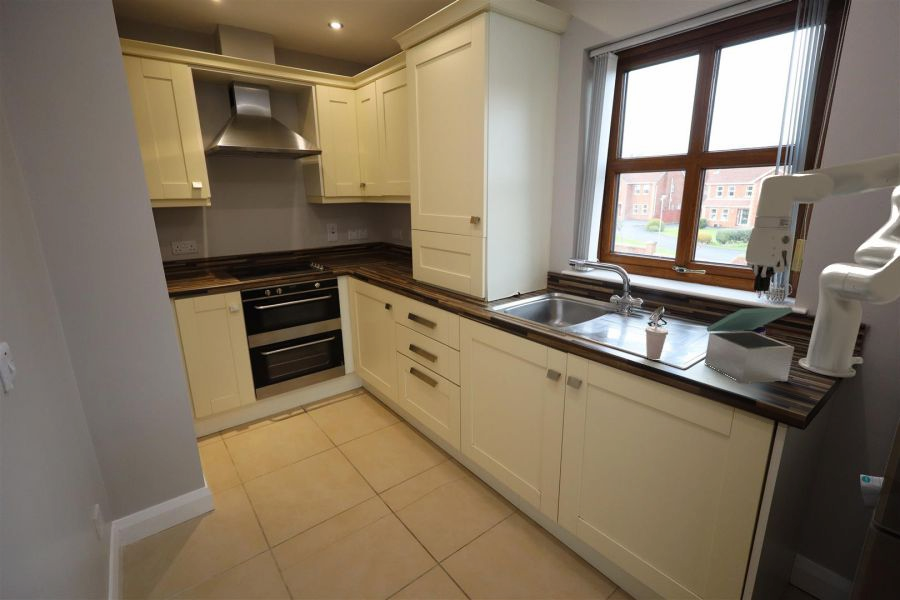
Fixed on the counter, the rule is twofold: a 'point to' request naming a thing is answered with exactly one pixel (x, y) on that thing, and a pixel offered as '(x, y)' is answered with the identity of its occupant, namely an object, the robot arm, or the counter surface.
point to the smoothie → (655, 340)
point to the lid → (749, 319)
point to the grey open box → (749, 356)
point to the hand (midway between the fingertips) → (761, 290)
